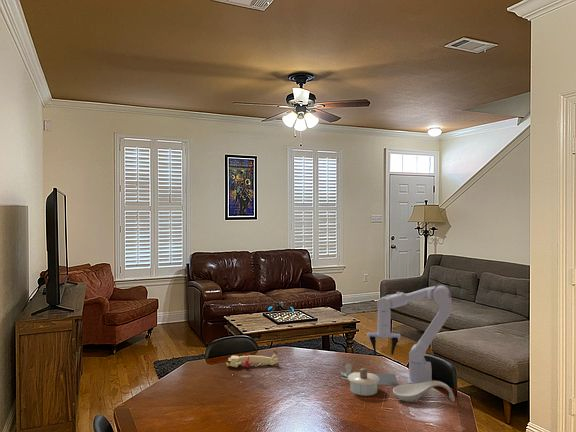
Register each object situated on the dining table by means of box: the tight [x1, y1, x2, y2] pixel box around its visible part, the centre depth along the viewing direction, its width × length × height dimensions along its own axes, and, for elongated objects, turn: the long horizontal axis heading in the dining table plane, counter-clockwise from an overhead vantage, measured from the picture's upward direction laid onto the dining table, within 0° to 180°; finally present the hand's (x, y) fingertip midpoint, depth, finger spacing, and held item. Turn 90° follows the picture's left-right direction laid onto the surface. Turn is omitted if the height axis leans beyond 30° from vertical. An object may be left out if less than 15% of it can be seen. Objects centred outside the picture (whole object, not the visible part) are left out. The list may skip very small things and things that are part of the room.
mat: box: [370, 372, 399, 386], centre depth 207 cm, size 14×14×1 cm
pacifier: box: [339, 363, 357, 380], centre depth 209 cm, size 7×6×6 cm
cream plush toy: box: [225, 349, 279, 369], centre depth 226 cm, size 10×9×25 cm
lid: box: [347, 367, 380, 385], centre depth 194 cm, size 13×13×4 cm
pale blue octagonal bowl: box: [349, 381, 378, 396], centre depth 194 cm, size 11×11×5 cm
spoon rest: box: [392, 380, 456, 403], centre depth 186 cm, size 24×12×7 cm, turn 87°
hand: (383, 353), depth 211 cm, fingers open, 7 cm apart
